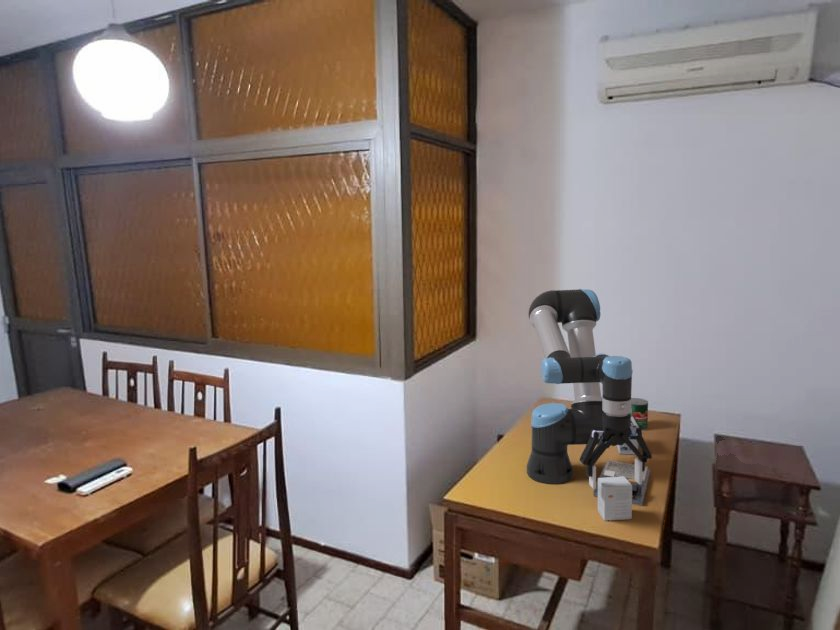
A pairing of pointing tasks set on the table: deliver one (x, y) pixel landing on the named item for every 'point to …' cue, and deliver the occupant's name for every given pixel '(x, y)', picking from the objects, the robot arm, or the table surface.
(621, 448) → the light bulb box
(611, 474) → the block
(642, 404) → the canned tomato
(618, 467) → the panel
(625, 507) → the small box
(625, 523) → the table surface
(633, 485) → the block
